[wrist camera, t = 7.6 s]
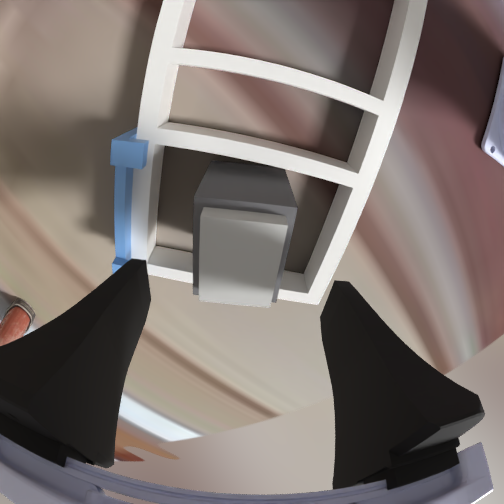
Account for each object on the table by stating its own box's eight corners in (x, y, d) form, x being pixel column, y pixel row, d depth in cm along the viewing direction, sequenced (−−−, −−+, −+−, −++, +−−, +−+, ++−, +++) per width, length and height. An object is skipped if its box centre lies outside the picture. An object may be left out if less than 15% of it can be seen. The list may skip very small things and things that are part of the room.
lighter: (22, 335, 25) (-10, 398, 17) (3, 317, 24) (-32, 378, 15) (40, 315, 23) (-1, 392, 14) (18, 293, 21) (-29, 367, 13)
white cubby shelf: (412, -7, 8) (446, -19, 6) (313, 285, 20) (322, 323, 17) (190, -66, 7) (176, -94, 4) (133, 250, 18) (113, 285, 15)
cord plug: (284, 168, 15) (300, 217, 10) (270, 244, 18) (277, 314, 13) (211, 160, 15) (189, 205, 10) (207, 238, 18) (190, 306, 13)
